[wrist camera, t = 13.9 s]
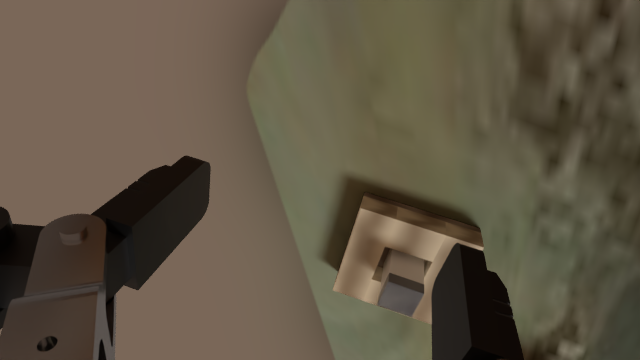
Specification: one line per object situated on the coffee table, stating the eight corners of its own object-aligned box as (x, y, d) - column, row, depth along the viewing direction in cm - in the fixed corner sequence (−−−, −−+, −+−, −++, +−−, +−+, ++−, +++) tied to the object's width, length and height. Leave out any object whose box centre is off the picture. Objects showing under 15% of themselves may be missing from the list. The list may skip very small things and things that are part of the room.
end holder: (480, 228, 49) (484, 247, 46) (435, 304, 58) (436, 325, 54) (364, 191, 51) (360, 207, 47) (338, 271, 59) (332, 290, 56)
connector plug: (424, 251, 52) (424, 293, 45) (413, 273, 55) (411, 317, 48) (393, 241, 53) (388, 281, 46) (383, 263, 55) (377, 305, 48)
